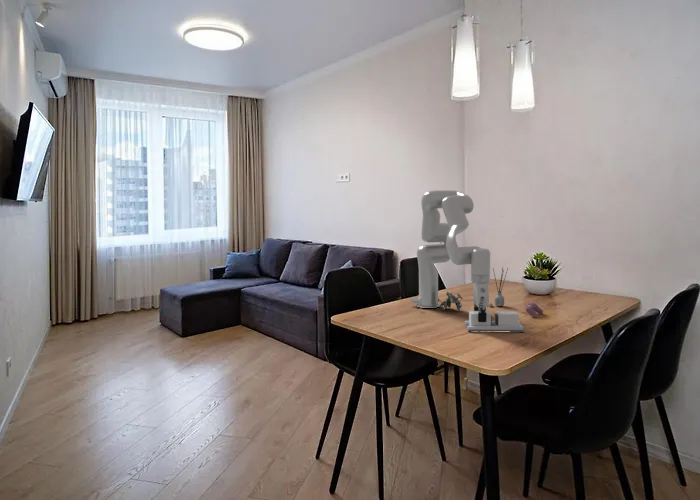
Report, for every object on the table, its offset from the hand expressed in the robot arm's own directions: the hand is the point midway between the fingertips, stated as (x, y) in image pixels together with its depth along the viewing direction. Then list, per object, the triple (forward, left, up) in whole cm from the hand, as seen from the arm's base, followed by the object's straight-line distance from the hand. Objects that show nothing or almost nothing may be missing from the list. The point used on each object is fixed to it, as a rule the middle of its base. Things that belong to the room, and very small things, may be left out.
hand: (479, 318), depth 187 cm
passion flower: (-8, +30, -5) cm, 32 cm away
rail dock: (+6, 0, -4) cm, 7 cm away
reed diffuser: (+17, +39, -4) cm, 43 cm away
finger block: (0, 0, -3) cm, 3 cm away
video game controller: (+29, +23, -5) cm, 37 cm away
